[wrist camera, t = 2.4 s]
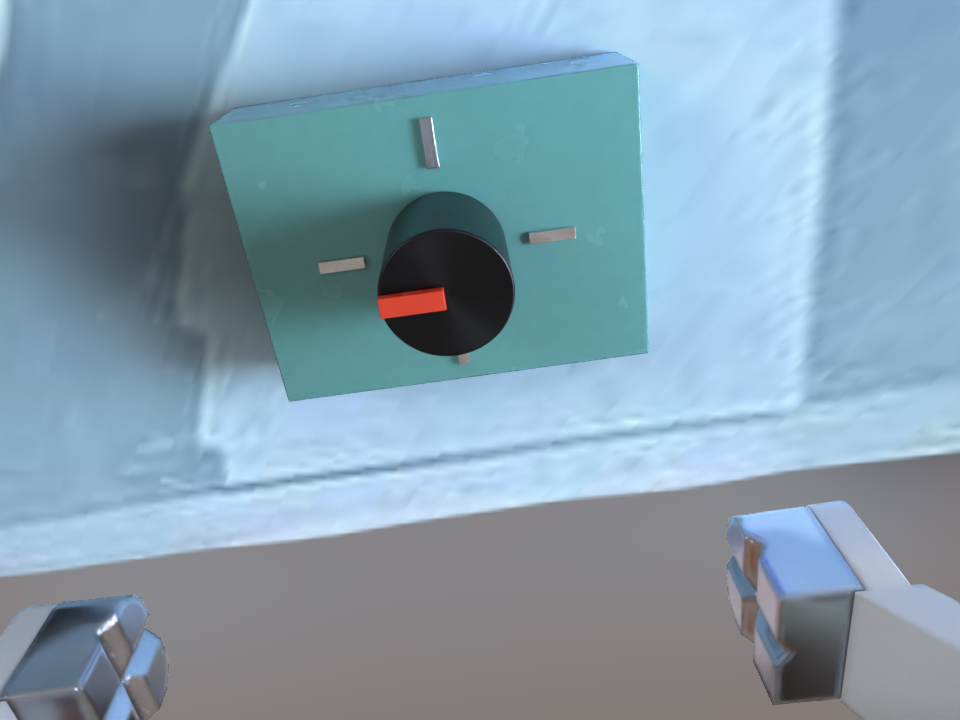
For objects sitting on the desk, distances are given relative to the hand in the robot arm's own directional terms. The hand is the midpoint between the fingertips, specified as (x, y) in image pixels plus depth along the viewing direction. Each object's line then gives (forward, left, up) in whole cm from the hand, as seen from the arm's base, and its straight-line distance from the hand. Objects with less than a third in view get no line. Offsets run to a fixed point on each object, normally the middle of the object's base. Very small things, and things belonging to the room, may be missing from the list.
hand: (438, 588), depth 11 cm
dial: (0, 0, -14) cm, 14 cm away
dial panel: (0, 0, -17) cm, 17 cm away
